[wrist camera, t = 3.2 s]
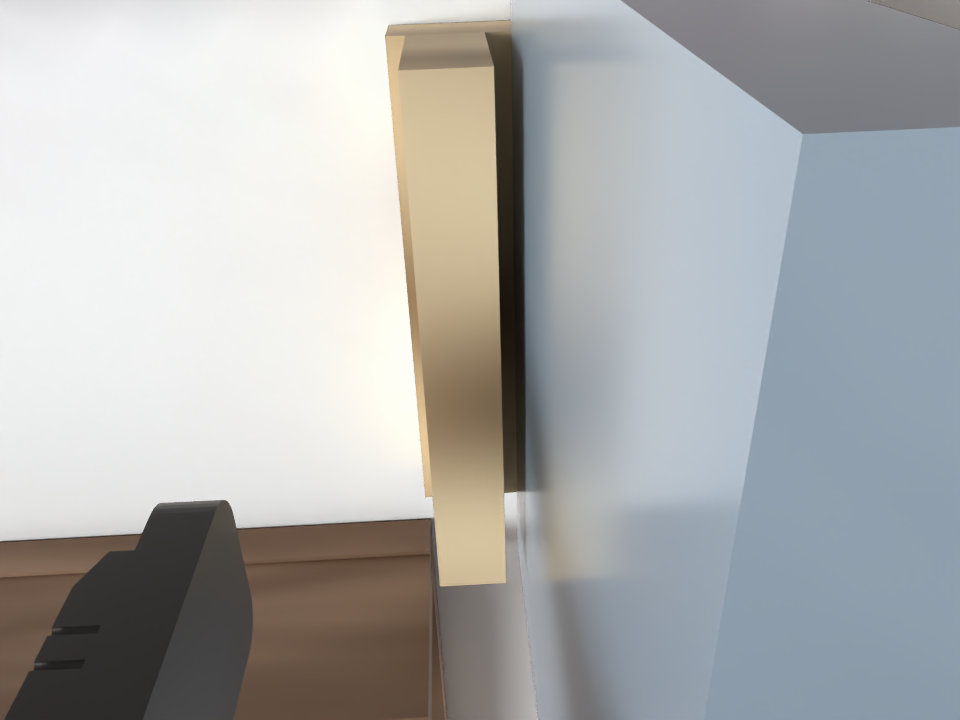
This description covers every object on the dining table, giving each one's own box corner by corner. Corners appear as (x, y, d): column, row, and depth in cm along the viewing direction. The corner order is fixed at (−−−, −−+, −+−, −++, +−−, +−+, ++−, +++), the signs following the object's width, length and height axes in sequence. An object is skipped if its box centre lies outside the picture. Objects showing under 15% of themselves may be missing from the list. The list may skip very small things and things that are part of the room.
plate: (509, -83, 12) (804, 133, 2) (593, -85, 12) (1235, 114, 2) (517, 546, 18) (605, 1304, 8) (573, 542, 18) (721, 1296, 8)
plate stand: (388, 25, 13) (373, 72, 10) (697, 11, 13) (771, 54, 10) (426, 466, 18) (423, 587, 15) (654, 454, 18) (698, 572, 15)
